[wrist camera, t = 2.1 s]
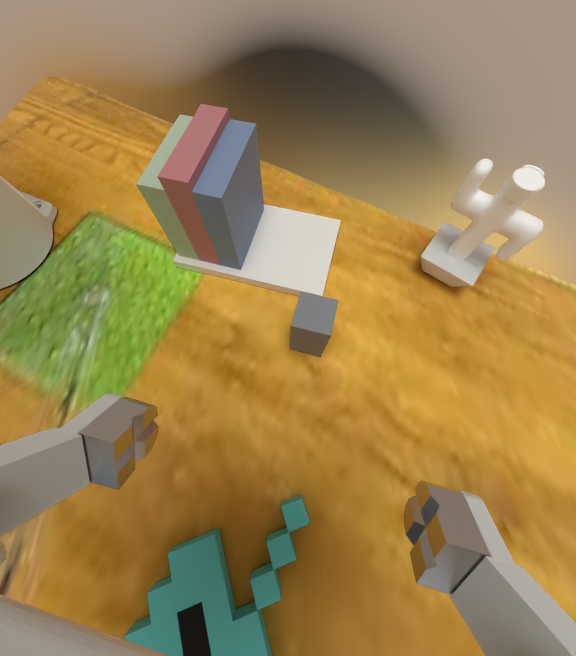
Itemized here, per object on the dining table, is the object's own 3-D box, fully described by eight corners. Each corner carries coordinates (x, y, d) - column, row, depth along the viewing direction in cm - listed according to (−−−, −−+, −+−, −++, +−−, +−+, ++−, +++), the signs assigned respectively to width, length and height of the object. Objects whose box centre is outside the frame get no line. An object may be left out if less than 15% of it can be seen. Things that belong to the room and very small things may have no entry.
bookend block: (289, 349, 34) (291, 325, 27) (297, 320, 35) (300, 291, 28) (320, 356, 34) (330, 335, 26) (327, 328, 35) (338, 300, 28)
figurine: (462, 303, 37) (572, 224, 23) (401, 267, 39) (467, 174, 25) (483, 268, 39) (596, 175, 25) (424, 235, 41) (497, 133, 27)
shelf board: (176, 267, 38) (117, 176, 25) (209, 199, 43) (174, 92, 29) (320, 301, 37) (342, 224, 23) (338, 227, 41) (365, 127, 28)
